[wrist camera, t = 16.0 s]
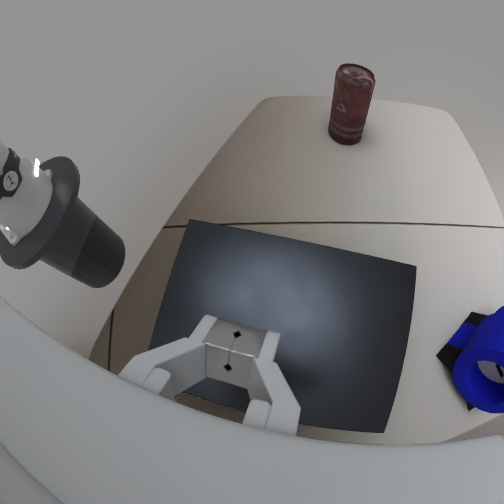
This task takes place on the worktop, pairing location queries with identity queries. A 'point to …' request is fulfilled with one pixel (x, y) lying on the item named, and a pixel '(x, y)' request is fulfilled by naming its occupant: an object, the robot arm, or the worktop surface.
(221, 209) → the worktop surface
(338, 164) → the worktop surface
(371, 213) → the worktop surface
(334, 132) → the can
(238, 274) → the laptop screen
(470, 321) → the alarm clock
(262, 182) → the worktop surface
